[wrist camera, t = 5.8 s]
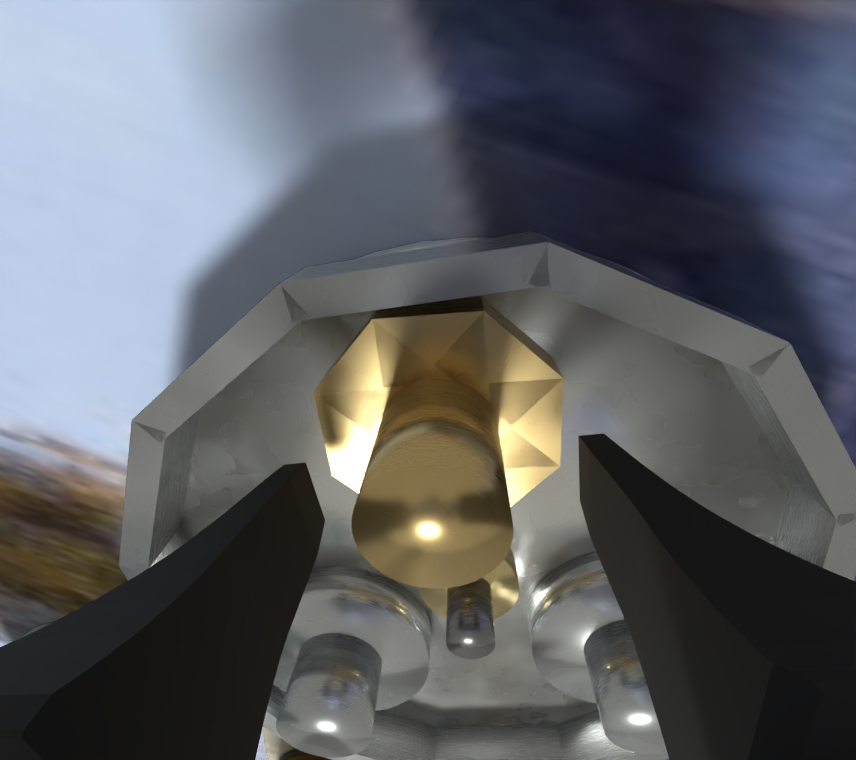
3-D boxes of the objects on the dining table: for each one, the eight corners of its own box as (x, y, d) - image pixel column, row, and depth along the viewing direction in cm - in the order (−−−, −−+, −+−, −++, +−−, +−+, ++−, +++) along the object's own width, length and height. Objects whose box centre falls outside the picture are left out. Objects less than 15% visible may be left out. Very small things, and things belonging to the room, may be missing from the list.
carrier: (852, 172, 12) (1130, 173, 7) (736, 697, 22) (818, 851, 17) (73, 296, 15) (-117, 358, 10) (282, 709, 25) (238, 843, 20)
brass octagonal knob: (554, 289, 12) (618, 369, 7) (549, 488, 15) (592, 640, 10) (313, 308, 13) (224, 393, 8) (353, 495, 16) (305, 641, 11)
